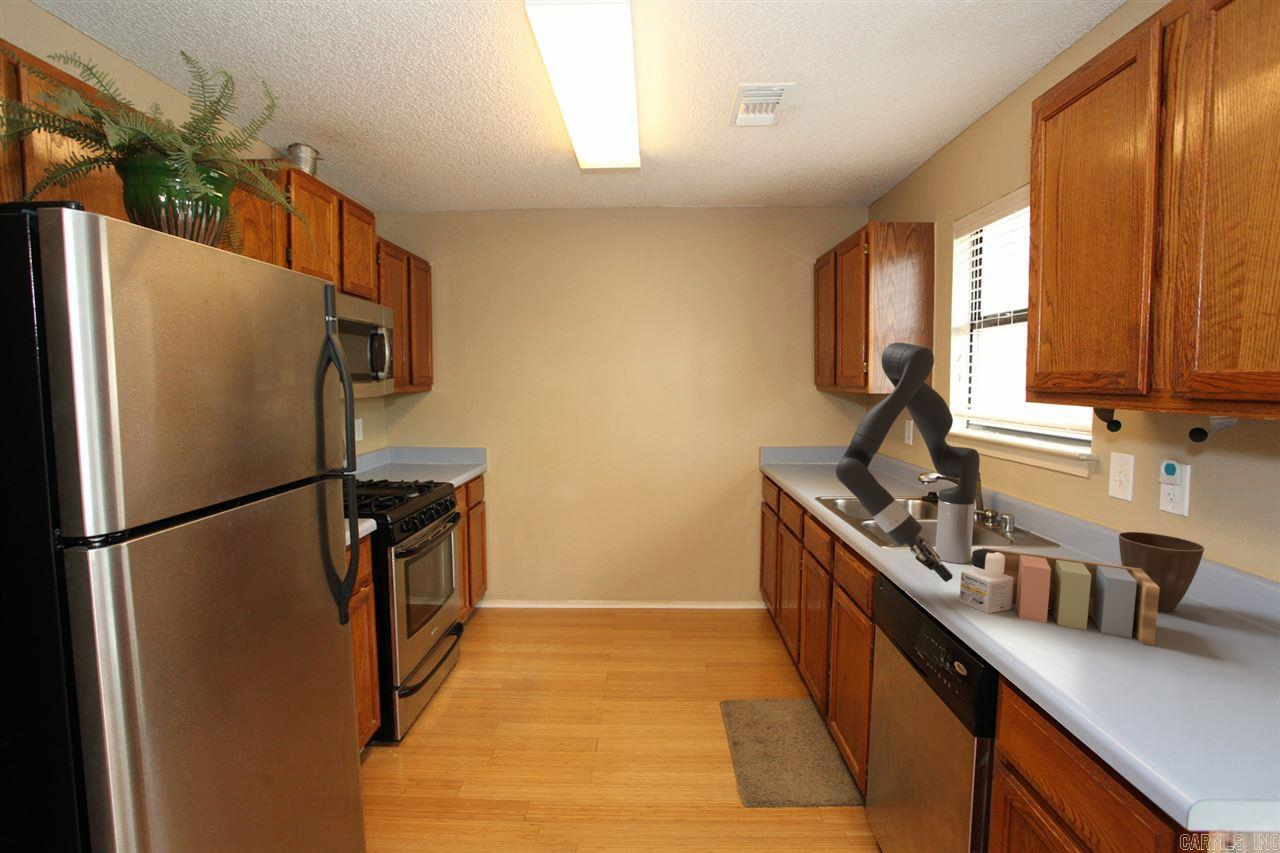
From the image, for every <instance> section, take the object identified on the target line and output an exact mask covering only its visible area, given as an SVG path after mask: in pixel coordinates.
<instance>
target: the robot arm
mask: <svg viewBox="0 0 1280 853" xmlns="http://www.w3.org/2000/svg"><path fill="white" fill-rule="evenodd" d="M934 363H935V356H934V353H933V351H932V350H931V348H929V347H926V346H923V345H917V344H912V343H906V342H893V343H891V344H888V345H887V346H886V347H885V348H884V350H883V351H882V354H881V368H882V369H883V372H884V374H885V376H886V377H887V379H888V380H889V382H890V383H891V384H892V386H893V387H894V389H893V390H892V391H891V392H890V393H889V394H888V395H887V396H886V397H885V398H884V399H882V400H881V401H879V402H878V403H877V404H875V405H874V406H873V407H872V408H871V409H870V410H868V412H867V413H866V414H864V416H863V417H862V419H861V420H860V422H859V424H858V426H857V428H856V430H855V431H854V434H853V435H852V438H851V440H850V444H849V445H848V448H846V450H845V452H844V454H843V456H842V457H841V459H840V460H839V462H838V464H837V465H836V467H835V476H836V478H837V480H838V481H839V482H840V483H841V484H842V485H844V486H845V487H846V489H848V491H850V493H851V494H852V495H853V496H855V497H856V498H857V500H858V502H859V503H860V504H861V506H862V507H863V508H864V509H865V511H866V512H867V513H869V515H870V516H871V517H872V518H873V519H874V521H875V523H877V525H878V526H879V527H880V528H881V529H882V531H883V532H884V533H885V534H886V535H887V536H888V537H889V538H890V539H891V540H892V542H894V544H895V545H896V546H898V547H901V546H904V545H906V544H907V545H908V547H909V548H910V549H909V551H910V552H911V553H912V555H914V557H915V560H916V561H918V562H919V563H920V564H922V565H923V566H925V567H926V568H927V569H928V570H930V571H934V572H935V573H936V574H937V575H938V576H939V577H940V579H941V580H943V582H945V583H948V582H949V581H951V580H952V579H953V578H954V577H953V574H952V572H950V570H949V569H948V568H947V566H945V565H944V564H943V562H947V563H948V562H949V563H954V564H967V563H968V564H969V563H970V562H972V545H973V530H974V529H973V528H974V516H975V515H974V514H975V499H976V496H977V488H978V481H979V480H978V479H979V473H980V472H979V471H980V465H981V464H980V463H981V458H980V454H979V451H977V449H975V448H971V447H963V446H954V445H953V446H952V445H949V444H948V442H947V441H946V437H947V436H948V434H949V432H950V431H951V429H952V426H953V422H954V418H953V414H952V412H951V410H950V408H949V406H948V403H947V402H946V400H945V399H944V398H943V397H942V395H940V393H939V392H937V391H936V389H934V388H933V387H931V386H930V385H929V384H928V383H927V382H925V381H926V380H927V378H928V377H929V376H930V373H931V372H932V370H933V367H934ZM905 408H906V409H907V411H908V412H909V414H910V415H911V416H910V417H911V419H912V420H913V423H914V425H915V426H916V428H917V430H918V431H919V433H920V435H921V437H922V440H923V441H924V443H925V445H926V447H927V450H928V452H929V455H930V458H931V461H932V465H933V467H934V469H935V470H936V472H937V474H938V475H940V476H942V477H944V478H951V479H958V484H957V485H956V486H954V487H948V488H943V489H941V490H939V493H938V503H937V504H938V505H937V521H936V538H935V548H934V547H933V546H932V544H931V543H930V542H929V540H928V539H926V538H925V537H923V538H922V536H920V535H919V534H920V533H921V531H923V526H922V525H921V524H920V523H919V522H918V521H917V519H916V518H914V516H913V515H912V514H911V512H909V511H908V510H907V509H906V508H905V507H904V506H903V505H902V504H901V503H900V502H899V501H897V500H896V499H895V498H894V496H893V495H891V493H890V492H889V491H888V490H887V489H886V488H885V487H884V486H883V485H882V484H880V483H879V482H878V480H877V479H876V478H875V476H874V475H873V474H872V473H871V471H870V470H869V469H868V468H869V466H870V464H871V462H872V460H873V458H874V457H875V455H876V454H877V452H878V451H879V449H881V446H882V444H883V442H884V441H885V439H886V438H887V435H888V433H889V431H890V429H891V428H892V426H893V425H894V422H896V420H897V418H898V417H899V416H900V414H901V413H902V411H903V410H904V409H905ZM942 561H943V562H942Z"/></svg>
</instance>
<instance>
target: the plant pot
mask: <svg viewBox="0 0 1280 853" xmlns="http://www.w3.org/2000/svg"><path fill="white" fill-rule="evenodd" d="M1118 543H1119V544H1118V545H1119V554H1120V561H1121V566H1125V567H1132V568H1140V569H1142V570H1143V571H1144V572H1145V573H1146V574H1147V575H1148V576H1149V577H1150V579H1151V580H1152V581H1153V582H1154V583H1155V584H1156V585H1157V586H1158V587H1159V588H1160V590H1159V600H1158V611H1157V613H1173V612H1174V611H1175V610H1176V609H1177V607H1178V606H1179V604H1180V602H1181V601H1182V600H1183V598H1184V596H1185V595H1186V594H1187V592H1188V589H1189V588H1190V586H1191V584H1192V582H1193V580H1194V578H1195V576H1196V573H1197V570H1198V568H1199V567H1200V564H1201V560H1202V558H1203V555H1204V551H1205V547H1204V546H1203V544H1200V543H1197V542H1195V541H1191V540H1189V539H1185V538H1180V537H1176V536H1170V535H1167V534H1166V535H1164V534H1157V533H1152V532H1139V531H1125V532H1120V533H1119V534H1118Z"/></svg>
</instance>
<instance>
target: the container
mask: <svg viewBox="0 0 1280 853" xmlns="http://www.w3.org/2000/svg"><path fill="white" fill-rule="evenodd" d="M1004 565H1005V556H1004V555H1003V554H1001V553H999V552H997V551H994V550H989V549H982V548H979V549H974V550H973V551H971V568H969V569H962V570H961V573H960V584H959V585H960V587H959V602H960V603H963V604H965V605H968V606H969V607H972V608H974V609H977V610H979V611H981V610H982V612H984V613H986V614H992V612H993V613H997V612H1004V611H1009V610H1011V609H1012V607H1013V603H1012V596H1013V583H1014V578H1013V577H1011V576H1009V575H1006V574H1003V573H1004Z"/></svg>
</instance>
